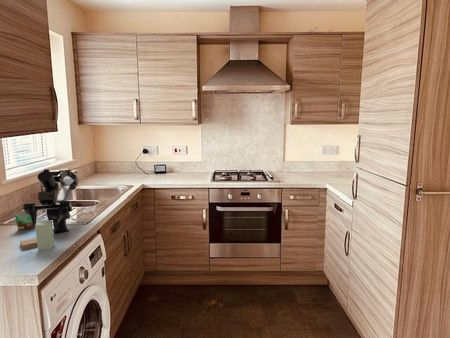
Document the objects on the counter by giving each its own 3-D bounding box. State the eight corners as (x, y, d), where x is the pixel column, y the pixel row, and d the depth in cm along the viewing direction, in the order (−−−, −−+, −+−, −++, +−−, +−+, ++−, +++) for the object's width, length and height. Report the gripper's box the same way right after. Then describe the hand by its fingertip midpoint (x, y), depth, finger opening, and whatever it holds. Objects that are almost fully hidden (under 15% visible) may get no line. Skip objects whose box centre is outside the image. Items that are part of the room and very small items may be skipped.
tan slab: (20, 245, 142) (20, 240, 142) (38, 241, 146) (38, 236, 146) (22, 250, 137) (21, 245, 136) (41, 246, 141) (40, 241, 140)
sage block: (41, 245, 141) (39, 221, 139) (54, 244, 142) (51, 220, 140) (37, 250, 136) (35, 225, 134) (50, 249, 137) (48, 224, 135)
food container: (26, 231, 159) (24, 212, 157) (15, 231, 160) (13, 211, 158) (44, 223, 171) (42, 205, 169) (34, 223, 172) (32, 204, 170)
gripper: (21, 185, 140) (14, 217, 131) (68, 182, 143) (63, 213, 134) (30, 198, 148) (24, 229, 140) (74, 195, 152) (70, 225, 143)
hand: (45, 224), depth 139 cm, fingers open, 9 cm apart
